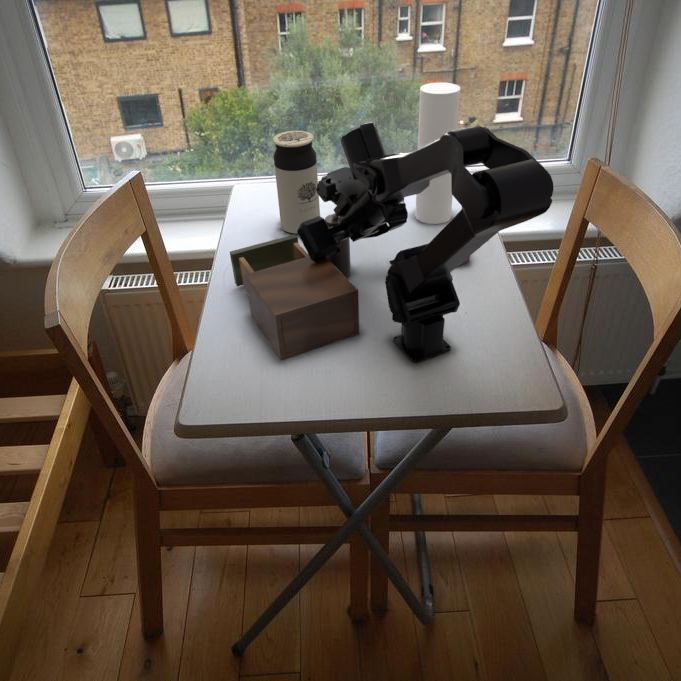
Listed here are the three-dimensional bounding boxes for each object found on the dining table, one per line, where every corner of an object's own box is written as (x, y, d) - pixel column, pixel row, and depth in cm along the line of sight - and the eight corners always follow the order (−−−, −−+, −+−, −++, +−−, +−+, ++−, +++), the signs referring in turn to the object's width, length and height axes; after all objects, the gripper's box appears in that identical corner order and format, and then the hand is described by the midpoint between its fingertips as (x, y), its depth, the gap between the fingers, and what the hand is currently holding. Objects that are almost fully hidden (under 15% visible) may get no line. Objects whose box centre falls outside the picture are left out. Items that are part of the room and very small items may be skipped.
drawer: (232, 280, 108) (227, 248, 104) (295, 262, 112) (292, 231, 108) (258, 317, 99) (253, 283, 95) (325, 296, 103) (323, 263, 99)
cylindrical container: (456, 212, 127) (466, 85, 112) (441, 226, 122) (450, 95, 107) (425, 205, 130) (430, 80, 115) (409, 219, 126) (413, 91, 110)
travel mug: (276, 221, 127) (266, 134, 116) (313, 213, 129) (306, 127, 118) (288, 238, 121) (278, 148, 110) (326, 230, 123) (320, 140, 112)
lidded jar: (352, 278, 109) (350, 218, 102) (327, 280, 108) (323, 220, 101) (348, 265, 112) (346, 206, 105) (324, 267, 112) (320, 209, 105)
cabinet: (251, 317, 101) (244, 274, 96) (324, 294, 105) (321, 252, 100) (280, 360, 91) (275, 315, 87) (359, 333, 96) (358, 289, 91)
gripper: (396, 142, 98) (357, 186, 113) (296, 176, 91) (268, 219, 105) (428, 204, 98) (385, 241, 112) (331, 243, 90) (298, 277, 104)
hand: (335, 243), depth 108 cm, fingers open, 6 cm apart
